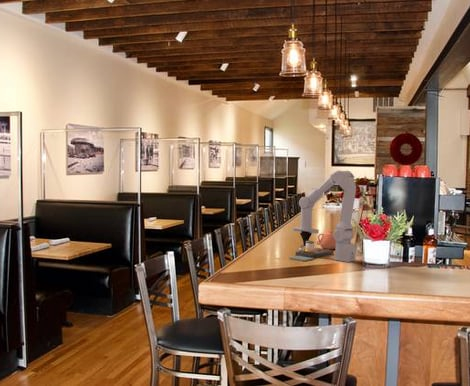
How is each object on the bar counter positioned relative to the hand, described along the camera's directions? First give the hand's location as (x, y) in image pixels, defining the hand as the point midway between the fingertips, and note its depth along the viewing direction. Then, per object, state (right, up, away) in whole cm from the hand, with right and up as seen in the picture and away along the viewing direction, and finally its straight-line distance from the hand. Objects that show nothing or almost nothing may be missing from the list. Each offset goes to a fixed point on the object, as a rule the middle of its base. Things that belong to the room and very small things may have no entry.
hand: (305, 245), depth 259 cm
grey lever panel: (+5, -4, -2) cm, 7 cm away
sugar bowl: (+16, -4, +20) cm, 26 cm away
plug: (+1, -5, -6) cm, 8 cm away
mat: (-4, -5, -16) cm, 17 cm away
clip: (-2, -2, -3) cm, 4 cm away
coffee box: (+35, -5, +8) cm, 37 cm away
